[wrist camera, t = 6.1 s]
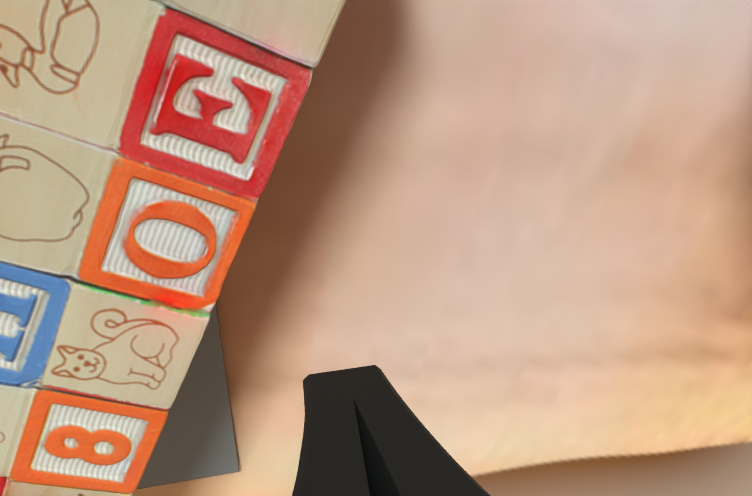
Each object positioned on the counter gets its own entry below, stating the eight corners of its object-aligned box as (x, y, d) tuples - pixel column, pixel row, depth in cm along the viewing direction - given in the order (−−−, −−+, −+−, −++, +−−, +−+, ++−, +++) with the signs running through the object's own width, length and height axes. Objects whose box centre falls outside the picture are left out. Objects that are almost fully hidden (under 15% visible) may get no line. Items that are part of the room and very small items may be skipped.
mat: (131, -285, 14) (129, -288, 14) (238, 464, 26) (238, 471, 26) (-485, -324, 12) (-505, -329, 11) (-58, 514, 24) (-62, 523, 23)
